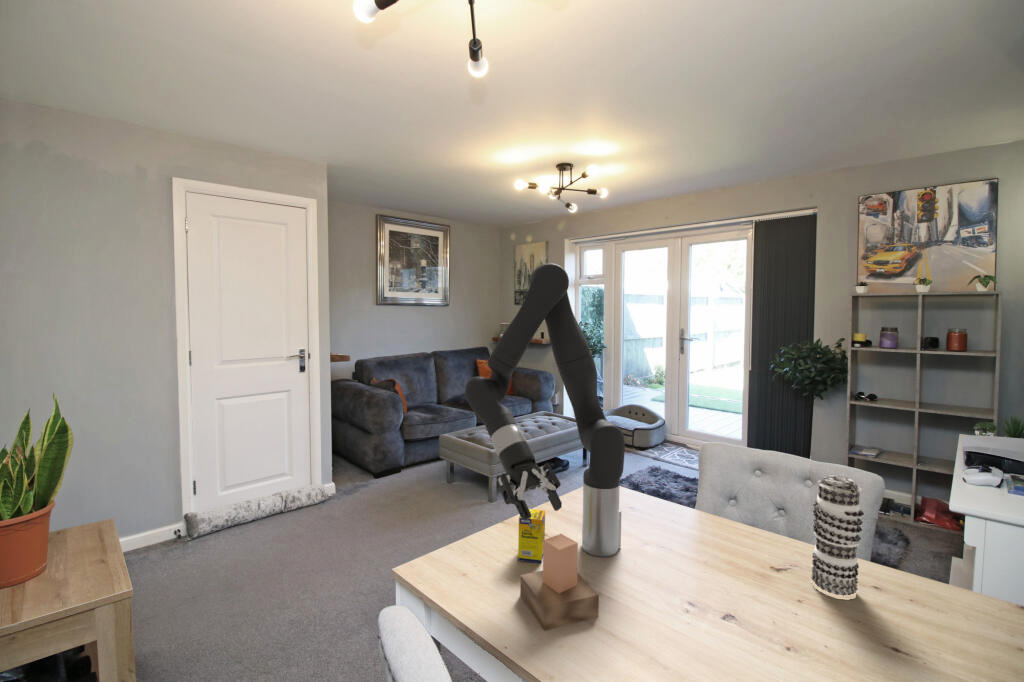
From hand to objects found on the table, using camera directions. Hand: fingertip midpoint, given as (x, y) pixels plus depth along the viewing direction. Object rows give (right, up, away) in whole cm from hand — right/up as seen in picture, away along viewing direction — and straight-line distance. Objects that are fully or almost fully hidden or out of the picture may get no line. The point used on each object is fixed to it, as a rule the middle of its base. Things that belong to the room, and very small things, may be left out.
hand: (543, 513), depth 103 cm
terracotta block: (+3, -13, -3) cm, 14 cm away
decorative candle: (+65, -18, +4) cm, 67 cm away
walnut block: (+3, -18, -3) cm, 19 cm away
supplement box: (-2, -17, +17) cm, 24 cm away
